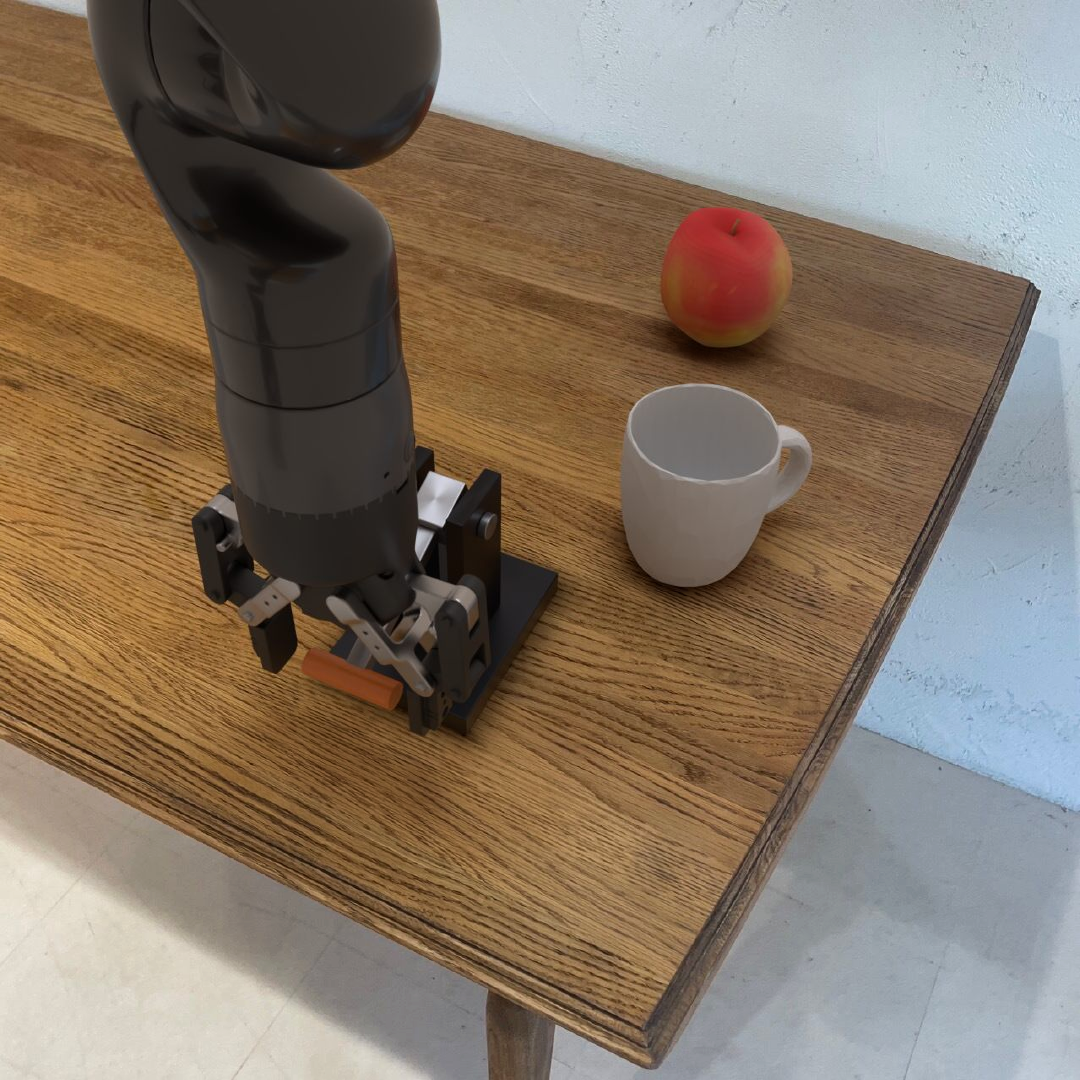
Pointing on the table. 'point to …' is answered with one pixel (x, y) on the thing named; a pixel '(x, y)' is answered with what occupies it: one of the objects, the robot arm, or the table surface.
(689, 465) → the mug
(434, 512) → the switch
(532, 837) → the table surface
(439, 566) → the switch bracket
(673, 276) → the apple
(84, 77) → the table surface
